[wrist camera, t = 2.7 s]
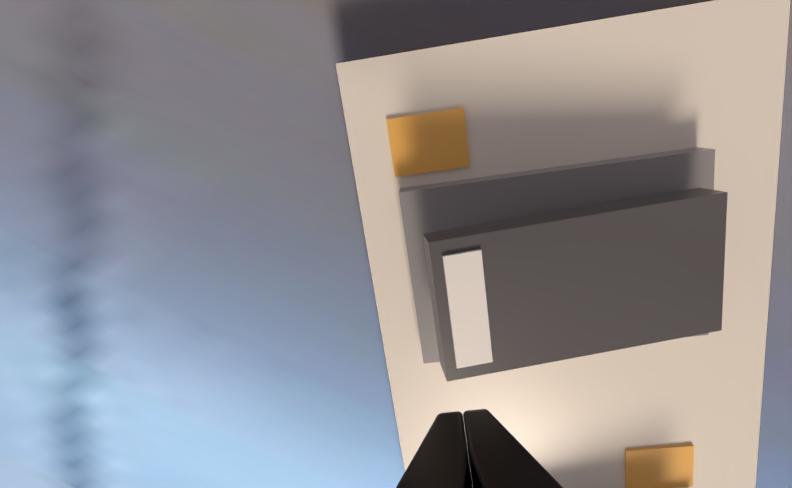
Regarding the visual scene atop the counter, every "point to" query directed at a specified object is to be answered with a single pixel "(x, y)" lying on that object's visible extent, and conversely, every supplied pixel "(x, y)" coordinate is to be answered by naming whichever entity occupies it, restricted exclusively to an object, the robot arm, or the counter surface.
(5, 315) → the counter surface
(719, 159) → the switch panel
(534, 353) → the rocker
